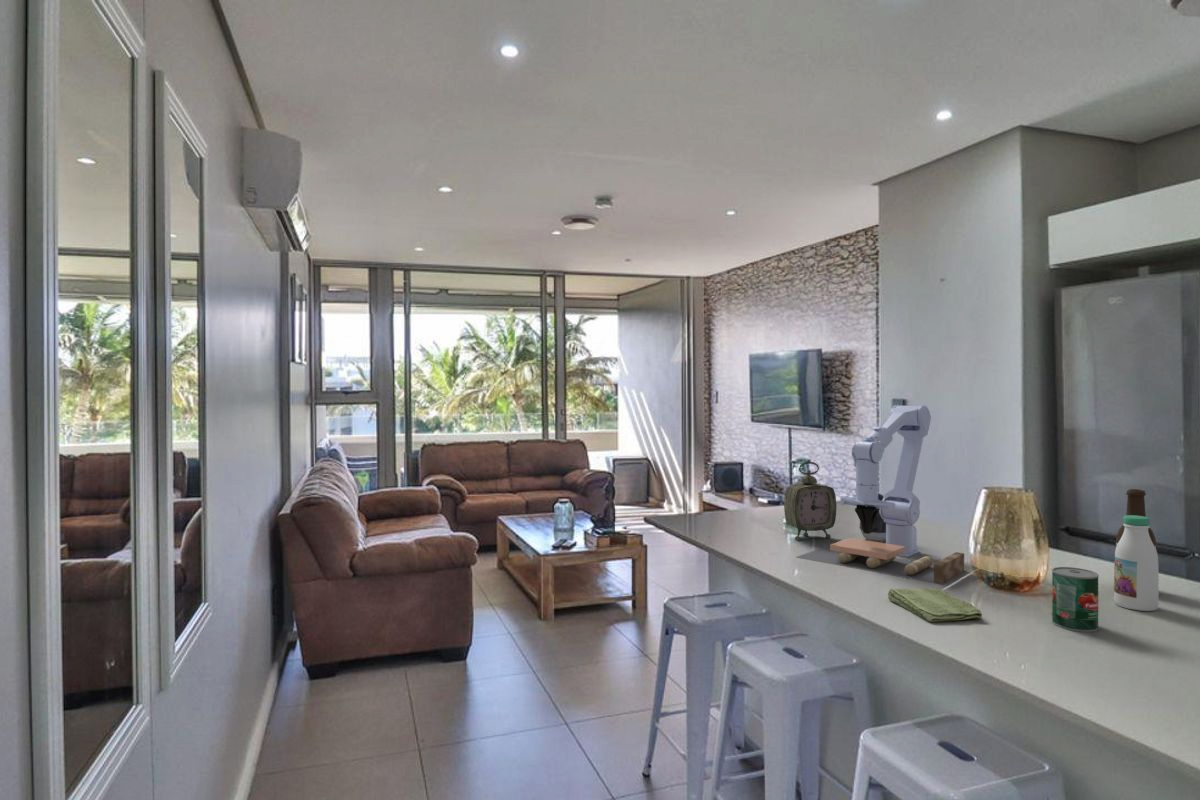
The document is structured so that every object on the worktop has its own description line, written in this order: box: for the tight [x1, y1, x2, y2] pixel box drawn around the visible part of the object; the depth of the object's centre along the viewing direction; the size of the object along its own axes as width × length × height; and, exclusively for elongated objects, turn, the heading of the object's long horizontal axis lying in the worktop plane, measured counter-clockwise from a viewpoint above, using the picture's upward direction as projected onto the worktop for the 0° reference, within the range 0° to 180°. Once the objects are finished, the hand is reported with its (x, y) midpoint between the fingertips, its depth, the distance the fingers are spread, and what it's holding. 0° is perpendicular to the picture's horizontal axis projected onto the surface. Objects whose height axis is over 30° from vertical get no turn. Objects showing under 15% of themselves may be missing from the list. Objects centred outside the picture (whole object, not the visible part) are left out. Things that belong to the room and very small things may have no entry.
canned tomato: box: [1051, 566, 1100, 633], centre depth 141 cm, size 8×8×11 cm
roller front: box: [866, 556, 897, 569], centre depth 188 cm, size 14×3×3 cm, turn 135°
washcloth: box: [887, 587, 983, 623], centre depth 152 cm, size 13×18×3 cm
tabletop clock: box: [783, 461, 837, 541], centre depth 222 cm, size 14×9×25 cm, turn 102°
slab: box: [829, 537, 905, 560], centre depth 191 cm, size 12×16×2 cm
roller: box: [904, 555, 934, 576], centre depth 181 cm, size 13×3×3 cm, turn 135°
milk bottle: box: [1113, 515, 1160, 612], centre depth 152 cm, size 8×8×20 cm
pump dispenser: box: [858, 492, 886, 543], centre depth 218 cm, size 10×10×15 cm
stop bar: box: [933, 551, 965, 583], centre depth 176 cm, size 16×2×5 cm, turn 135°
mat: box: [796, 545, 968, 586], centre depth 189 cm, size 18×40×1 cm, turn 45°
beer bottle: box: [1115, 488, 1157, 549], centre depth 164 cm, size 8×8×24 cm
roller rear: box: [838, 552, 862, 563], centre depth 193 cm, size 14×3×3 cm, turn 135°
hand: (867, 533), depth 191 cm, fingers closed
